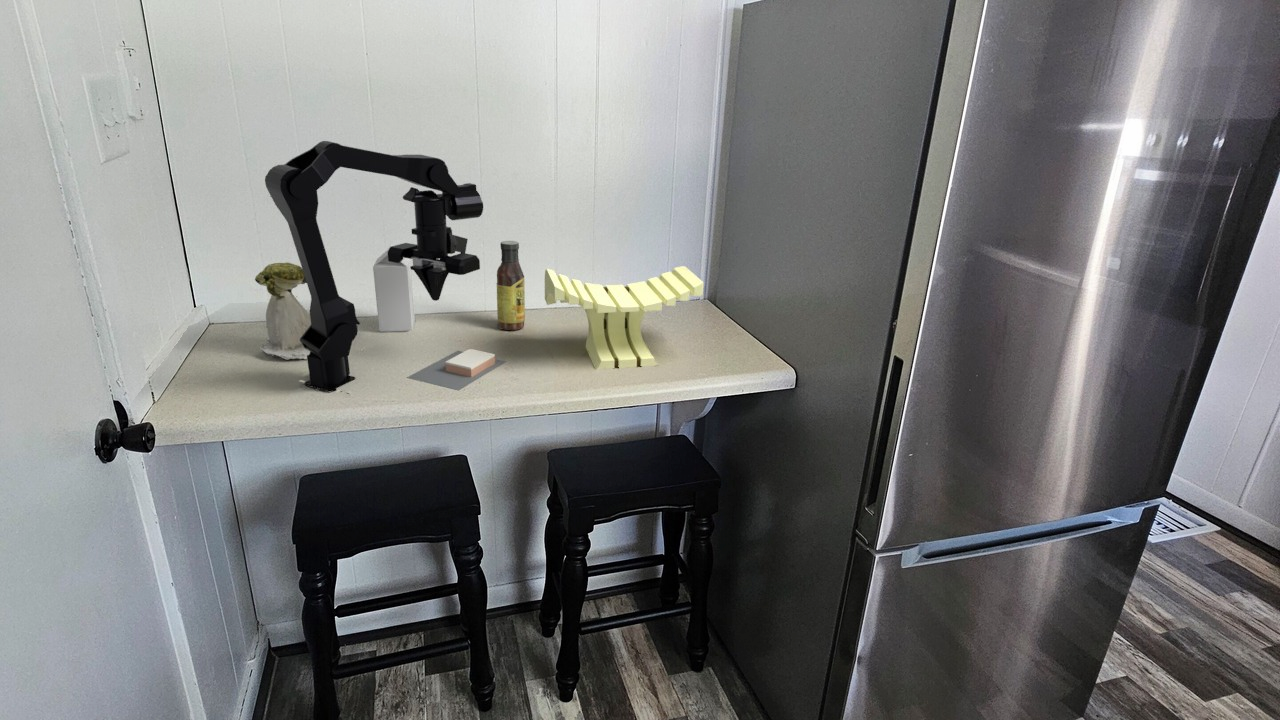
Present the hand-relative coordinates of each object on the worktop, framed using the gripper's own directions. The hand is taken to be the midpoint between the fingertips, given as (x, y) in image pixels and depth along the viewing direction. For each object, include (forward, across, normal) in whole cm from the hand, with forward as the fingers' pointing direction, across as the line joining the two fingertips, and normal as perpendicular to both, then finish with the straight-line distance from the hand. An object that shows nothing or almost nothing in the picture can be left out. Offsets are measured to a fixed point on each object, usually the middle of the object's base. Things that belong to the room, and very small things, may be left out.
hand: (435, 299), depth 144 cm
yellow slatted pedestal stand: (+12, -32, -20) cm, 40 cm away
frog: (+12, +26, +13) cm, 31 cm away
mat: (+12, -9, +5) cm, 16 cm away
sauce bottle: (+12, -3, -22) cm, 25 cm away
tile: (+10, -7, +3) cm, 13 cm away
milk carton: (+12, +19, -8) cm, 24 cm away
